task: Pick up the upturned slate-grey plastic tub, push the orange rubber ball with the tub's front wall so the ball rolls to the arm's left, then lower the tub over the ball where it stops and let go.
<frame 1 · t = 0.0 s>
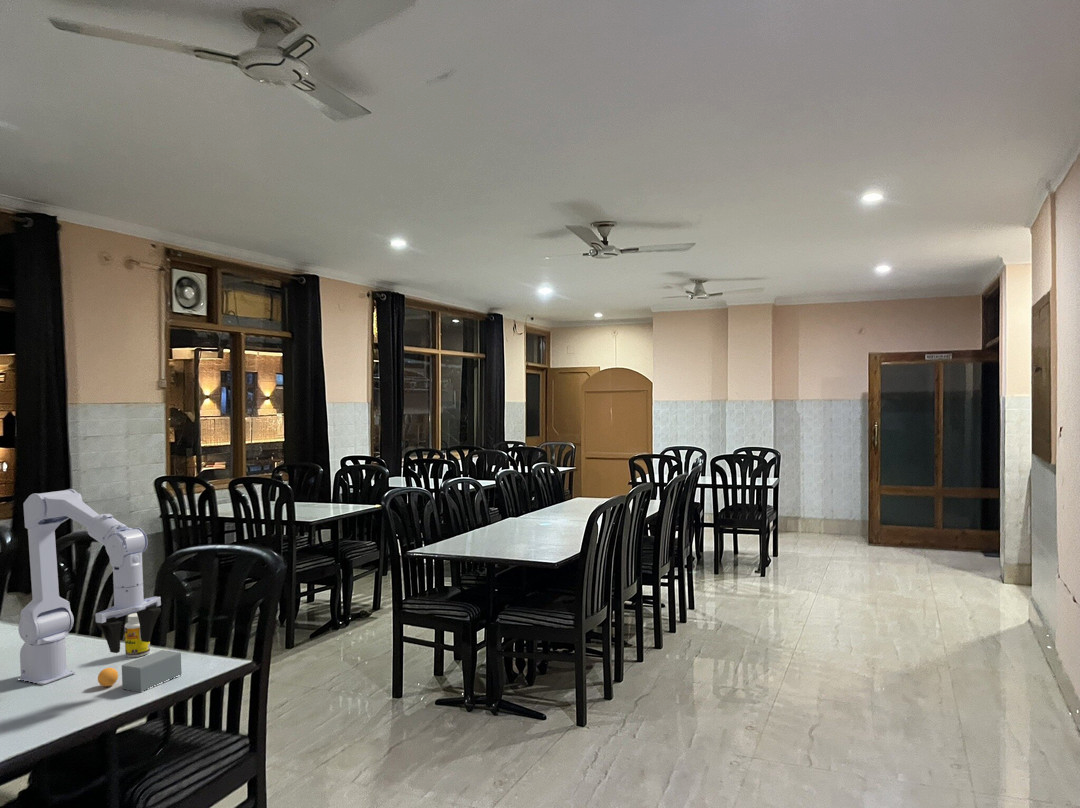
hand: (130, 646, 169), 10 cm above the table, tool pointing down, fingers open, 7 cm apart
supplement bottle: (138, 655, 195), on the table
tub: (152, 682, 175), on the table
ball: (108, 677, 173), on the table
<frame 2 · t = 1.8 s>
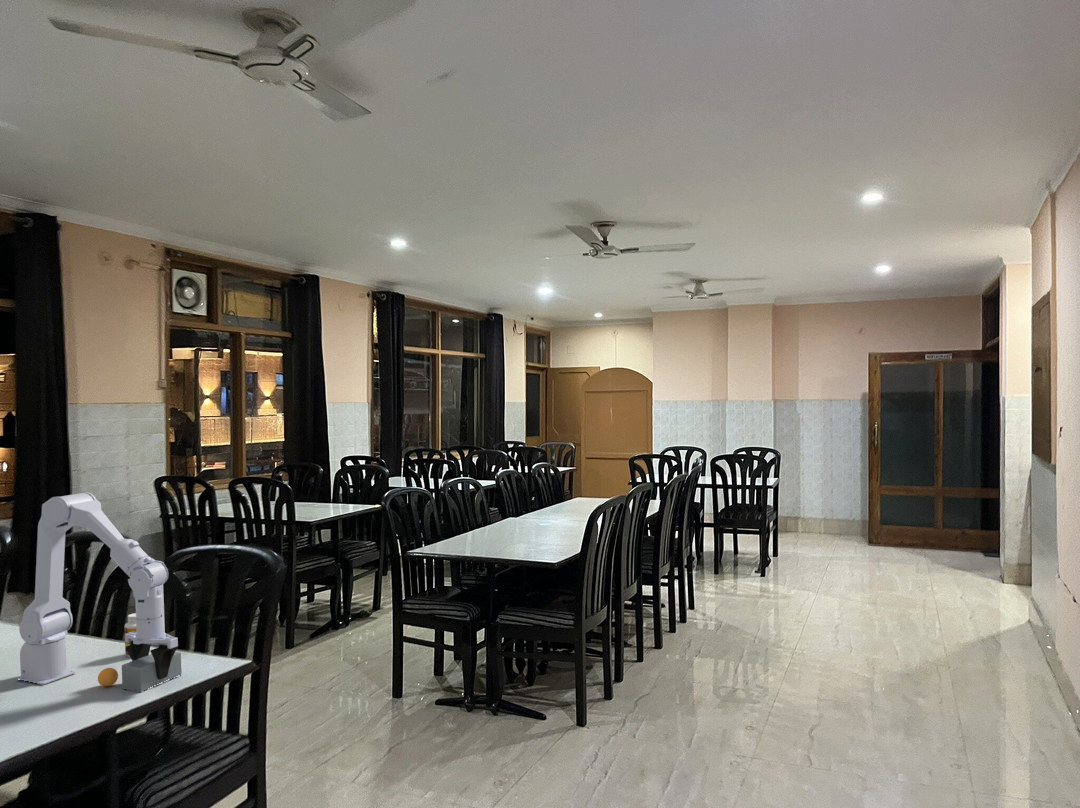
hand: (152, 676, 175), 1 cm above the table, tool pointing down, fingers closed on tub, 6 cm apart
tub: (152, 682, 175), on the table, touching gripper
everything else where it was.
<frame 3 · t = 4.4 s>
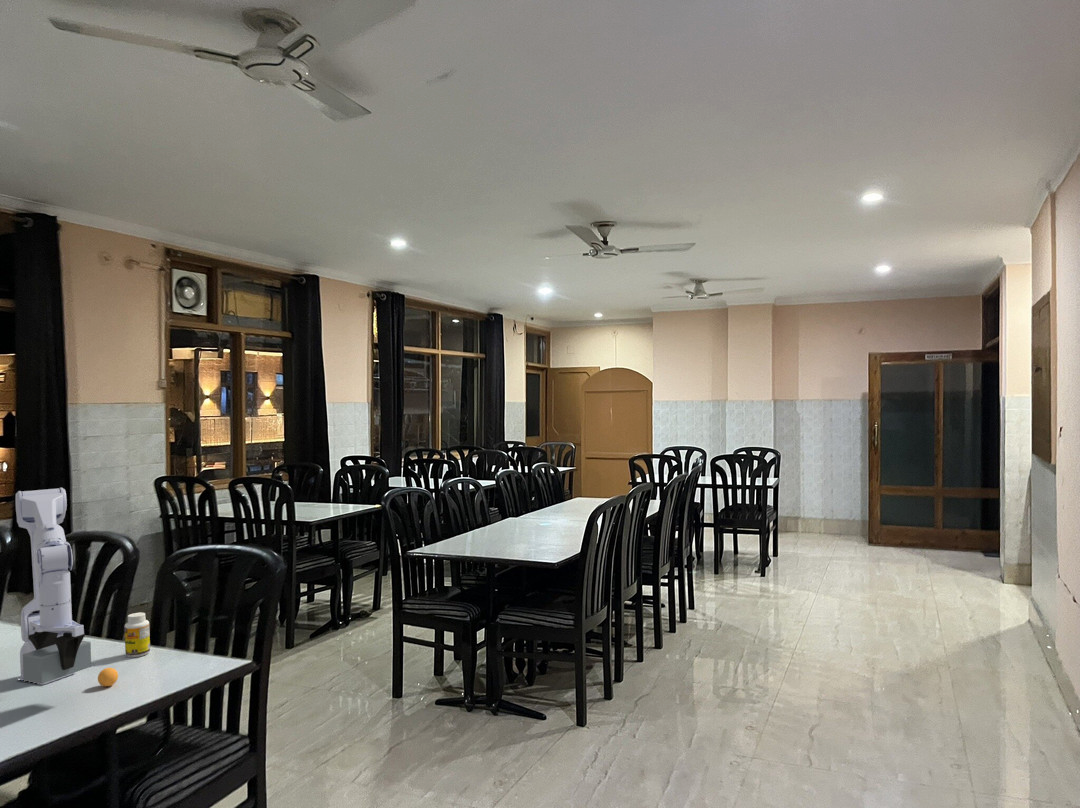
hand: (57, 666, 163), 8 cm above the table, tool pointing down, fingers closed on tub, 6 cm apart
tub: (58, 673, 163), point 7 cm above the table, touching gripper
everything else where it was.
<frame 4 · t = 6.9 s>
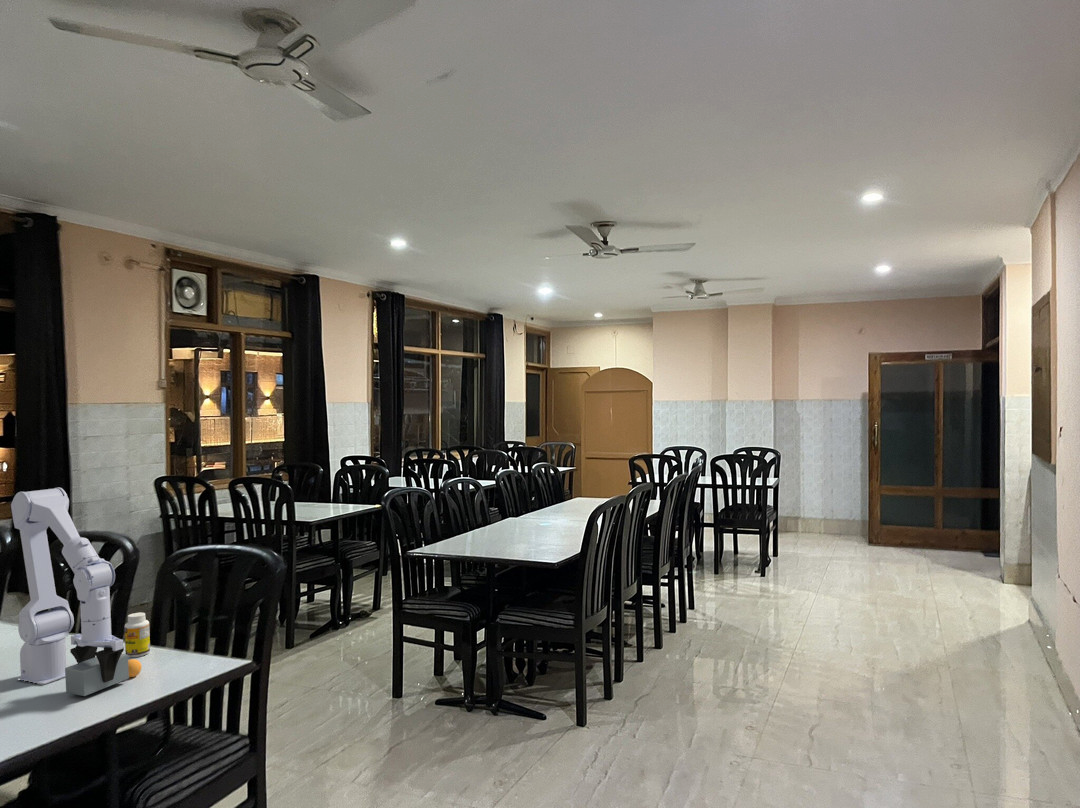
hand: (98, 679, 171), 2 cm above the table, tool pointing down, fingers closed on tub, 6 cm apart
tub: (98, 685, 171), point 1 cm above the table, touching gripper
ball: (131, 668, 179), on the table
everything else where it was.
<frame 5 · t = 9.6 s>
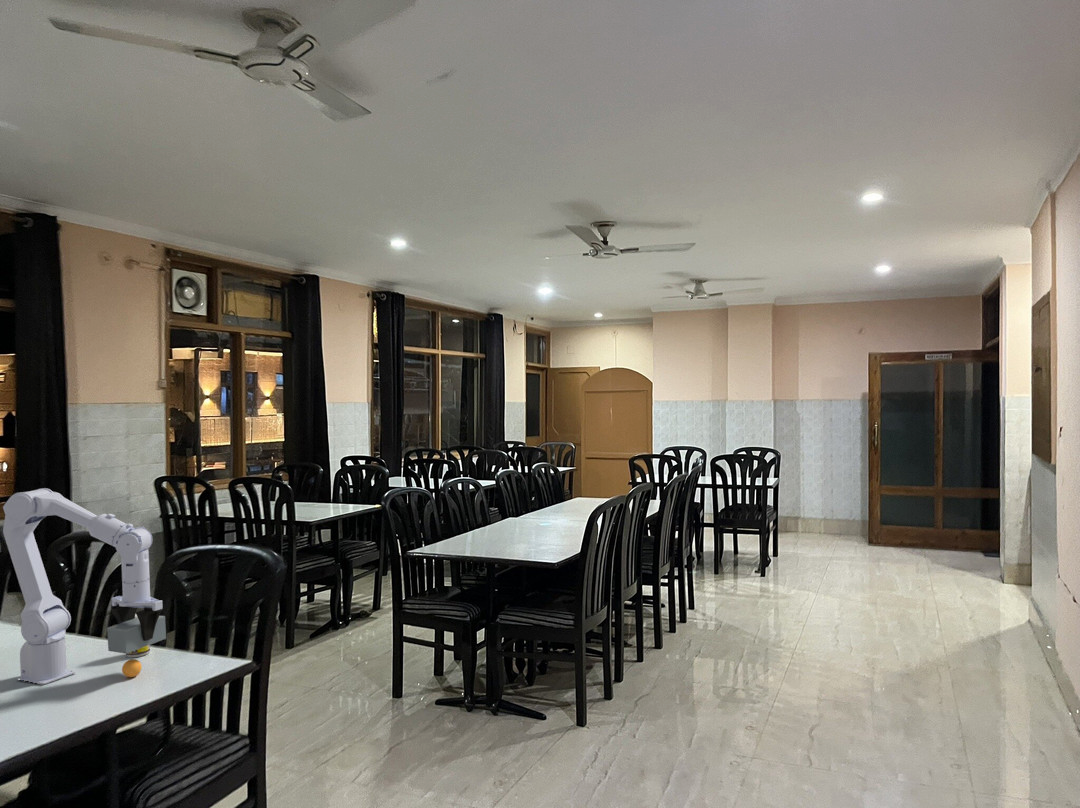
hand: (138, 638, 181), 8 cm above the table, tool pointing down, fingers closed on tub, 6 cm apart
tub: (137, 644, 181), point 7 cm above the table, touching gripper
everything else where it was.
when the fingers open (2 cm above the table, at t = 11.9 s): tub stays where it is, on the table.
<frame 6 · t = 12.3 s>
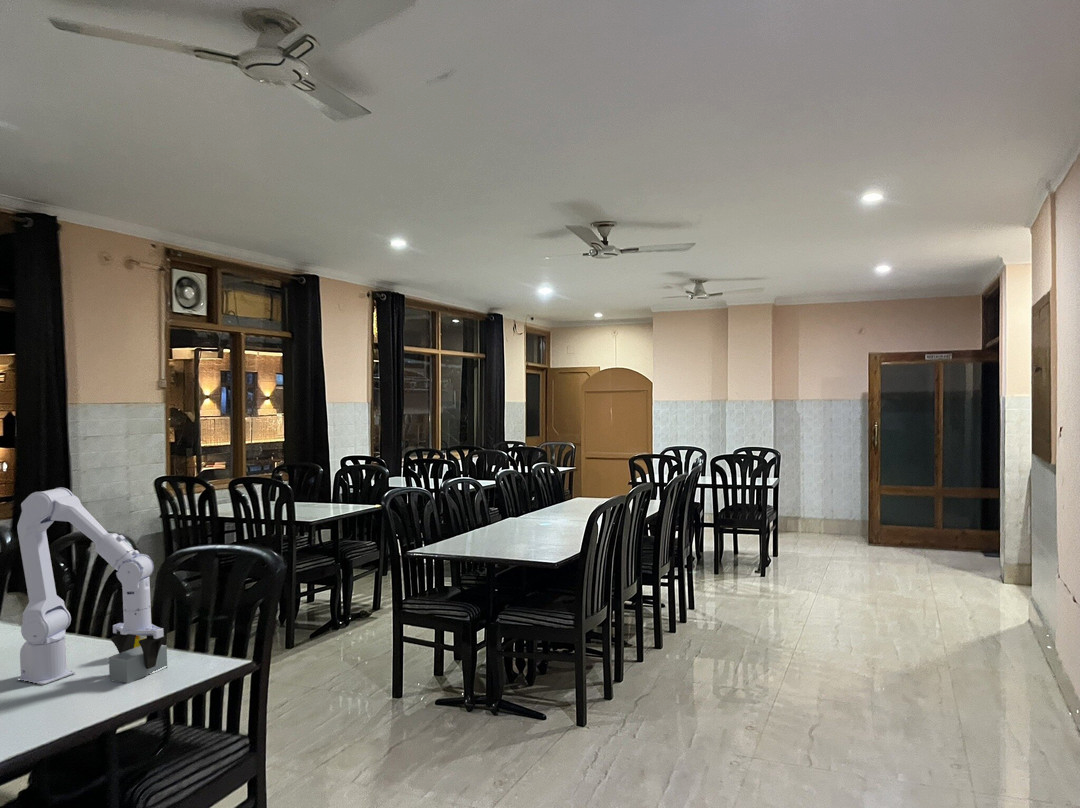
hand: (139, 665, 181), 2 cm above the table, tool pointing down, fingers open, 7 cm apart
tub: (139, 673, 181), on the table
everything else where it was.
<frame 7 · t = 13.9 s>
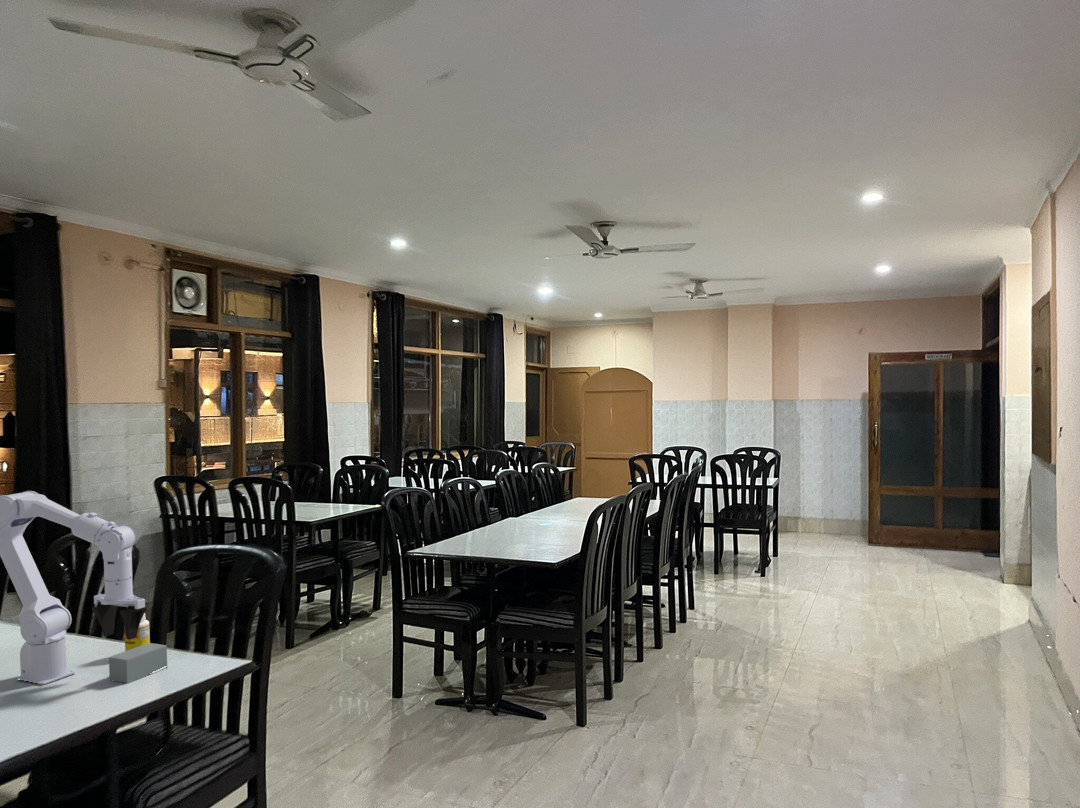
hand: (120, 636, 179), 9 cm above the table, tool pointing down, fingers open, 7 cm apart
nothing on the table moved.
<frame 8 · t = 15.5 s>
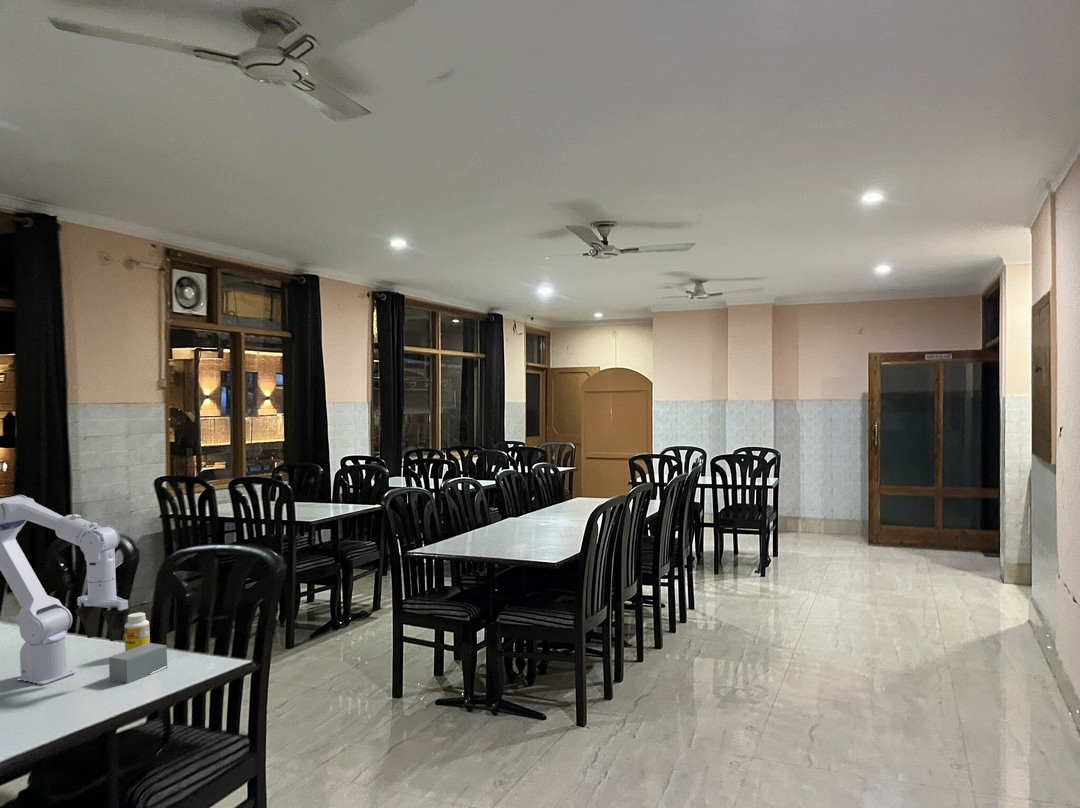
hand: (103, 638, 178), 9 cm above the table, tool pointing down, fingers open, 7 cm apart
nothing on the table moved.
at the end: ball 1.9 cm from the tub (horizontally); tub on the table; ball moved 6.0 cm from its start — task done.
